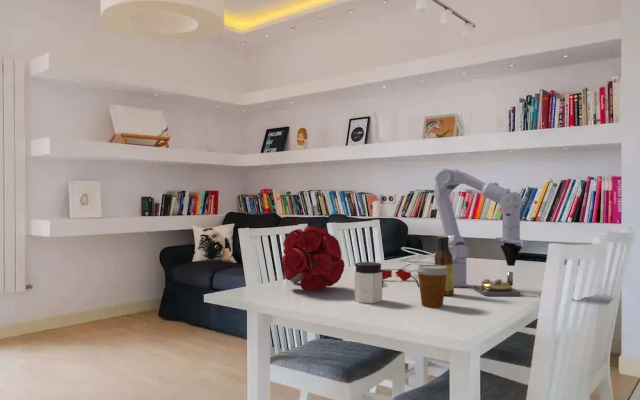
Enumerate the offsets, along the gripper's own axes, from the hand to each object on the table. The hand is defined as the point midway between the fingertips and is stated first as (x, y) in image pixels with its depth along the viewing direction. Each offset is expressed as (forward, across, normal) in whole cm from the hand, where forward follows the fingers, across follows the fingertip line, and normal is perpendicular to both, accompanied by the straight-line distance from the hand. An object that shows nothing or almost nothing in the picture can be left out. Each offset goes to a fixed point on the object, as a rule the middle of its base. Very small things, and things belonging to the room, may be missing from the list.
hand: (511, 265), depth 180 cm
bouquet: (+10, -29, -65) cm, 72 cm away
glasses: (+10, -29, -30) cm, 43 cm away
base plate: (+9, -1, -6) cm, 11 cm away
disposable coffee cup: (+10, +11, -38) cm, 40 cm away
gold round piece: (+8, 0, -5) cm, 9 cm away
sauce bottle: (+10, -4, -24) cm, 27 cm away
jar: (+10, -2, -54) cm, 54 cm away
